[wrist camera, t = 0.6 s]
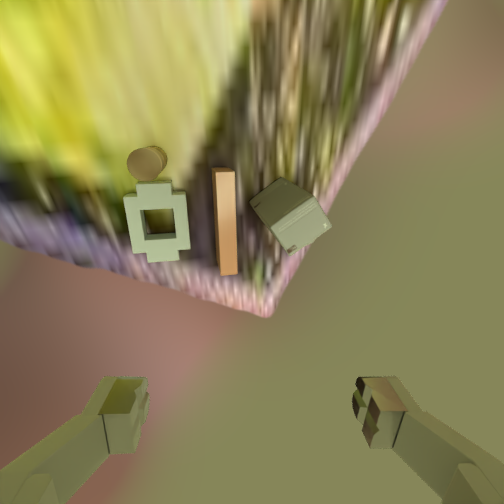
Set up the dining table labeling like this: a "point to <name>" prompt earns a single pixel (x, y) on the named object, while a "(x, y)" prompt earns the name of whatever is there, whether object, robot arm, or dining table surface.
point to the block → (157, 198)
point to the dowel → (146, 163)
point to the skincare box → (290, 214)
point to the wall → (225, 219)
